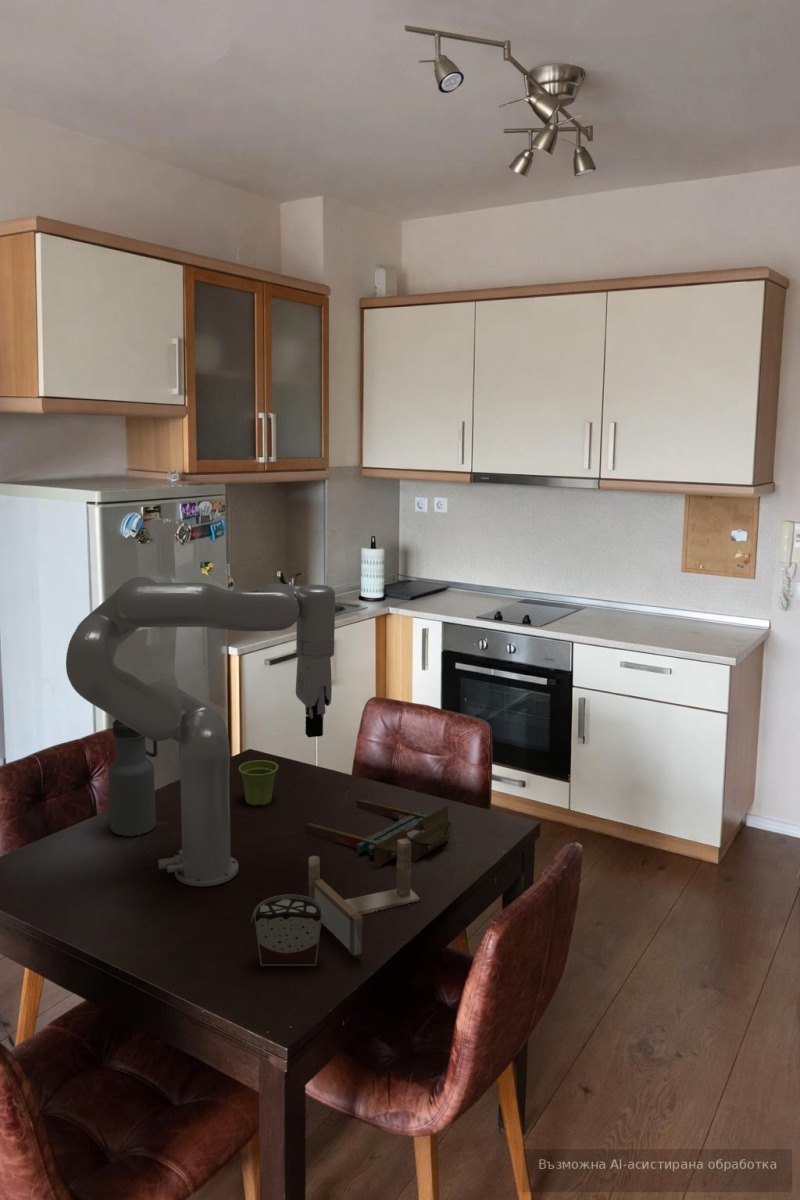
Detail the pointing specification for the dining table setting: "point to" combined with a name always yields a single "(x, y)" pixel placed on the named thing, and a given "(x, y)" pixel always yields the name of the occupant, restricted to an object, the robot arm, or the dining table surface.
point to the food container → (288, 930)
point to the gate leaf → (339, 917)
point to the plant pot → (258, 781)
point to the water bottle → (131, 783)
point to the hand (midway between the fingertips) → (314, 735)
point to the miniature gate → (393, 832)
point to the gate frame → (380, 899)
